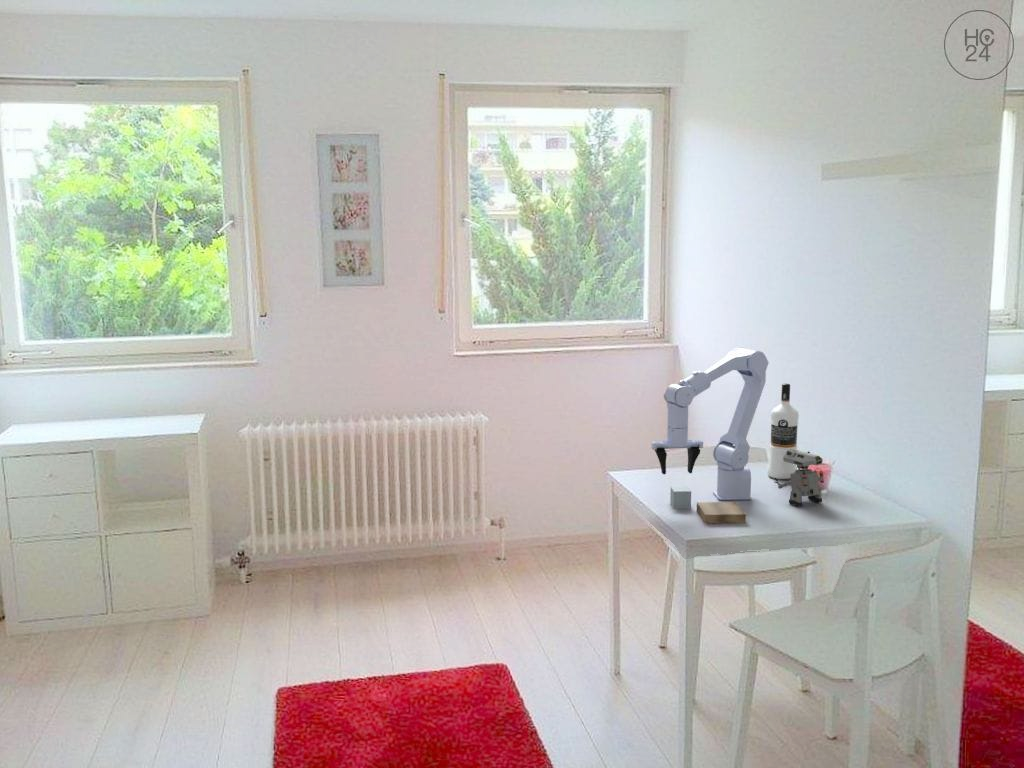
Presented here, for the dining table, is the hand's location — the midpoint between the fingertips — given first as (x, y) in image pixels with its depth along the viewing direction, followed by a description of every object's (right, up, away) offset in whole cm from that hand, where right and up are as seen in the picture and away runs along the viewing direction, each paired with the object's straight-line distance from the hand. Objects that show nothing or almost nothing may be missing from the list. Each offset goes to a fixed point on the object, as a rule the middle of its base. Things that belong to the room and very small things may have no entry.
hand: (676, 472), depth 264 cm
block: (+1, -10, +1) cm, 10 cm away
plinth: (+10, -11, -10) cm, 18 cm away
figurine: (+36, -9, +3) cm, 37 cm away
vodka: (+39, -4, +30) cm, 49 cm away
